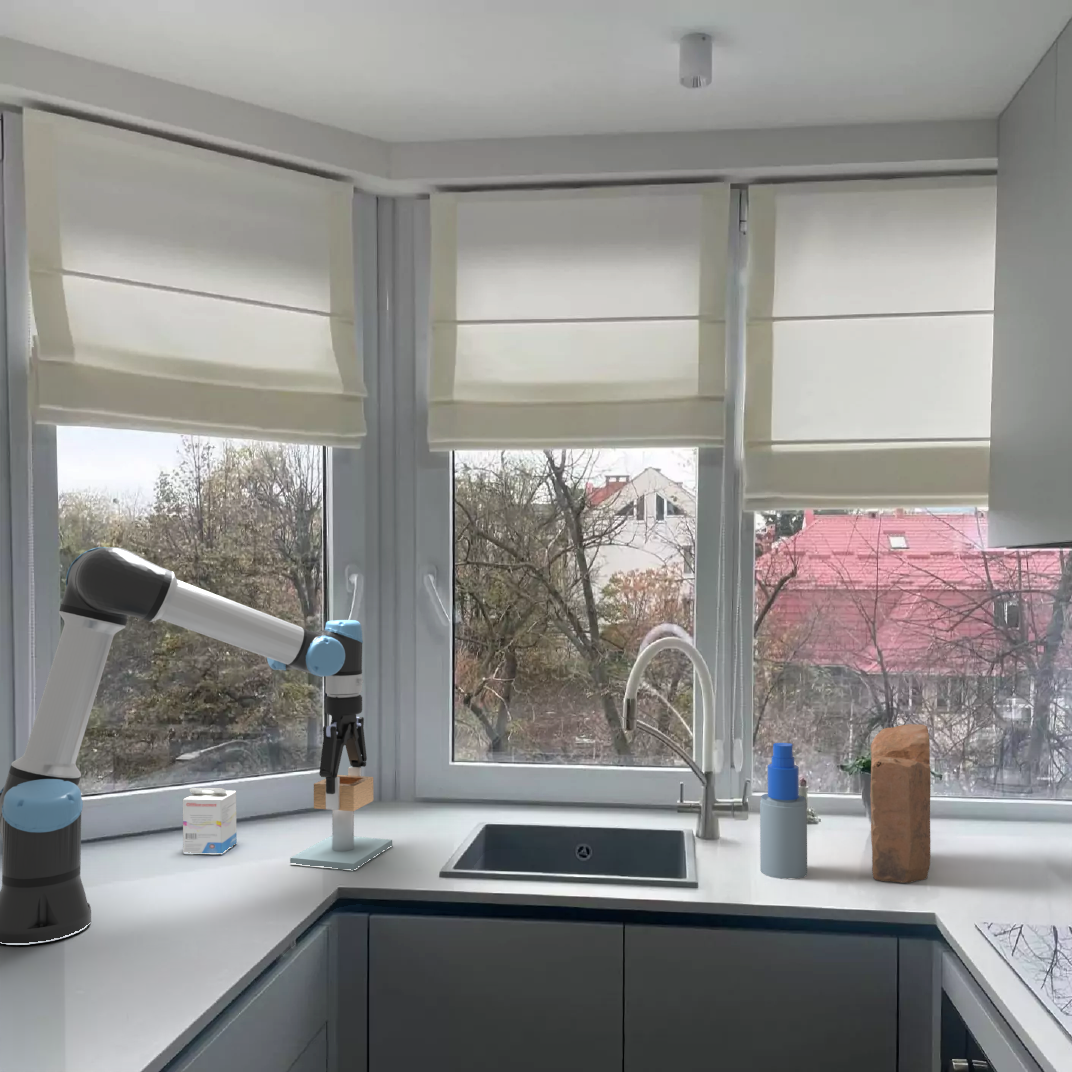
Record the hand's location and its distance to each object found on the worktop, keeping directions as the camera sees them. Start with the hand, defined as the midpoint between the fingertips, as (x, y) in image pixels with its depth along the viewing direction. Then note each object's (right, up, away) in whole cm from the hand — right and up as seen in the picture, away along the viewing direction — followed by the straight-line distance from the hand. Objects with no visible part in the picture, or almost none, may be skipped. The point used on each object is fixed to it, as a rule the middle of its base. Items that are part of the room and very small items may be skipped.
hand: (343, 803), depth 206 cm
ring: (0, 0, 0) cm, 0 cm away
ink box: (-29, -11, +4) cm, 31 cm away
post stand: (0, -11, 0) cm, 11 cm away
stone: (+112, -11, -9) cm, 113 cm away
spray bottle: (+88, -11, -11) cm, 90 cm away
